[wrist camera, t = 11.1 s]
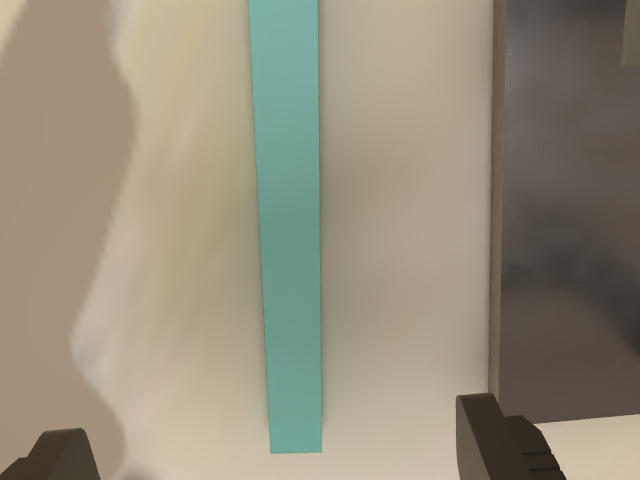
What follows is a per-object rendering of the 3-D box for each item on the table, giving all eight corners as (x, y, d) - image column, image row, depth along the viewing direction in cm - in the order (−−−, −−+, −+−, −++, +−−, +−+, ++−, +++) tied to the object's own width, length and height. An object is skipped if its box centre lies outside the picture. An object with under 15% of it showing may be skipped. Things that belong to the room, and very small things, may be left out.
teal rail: (315, -67, 22) (316, -75, 20) (320, 419, 30) (321, 452, 28) (250, -67, 22) (244, -74, 20) (272, 420, 30) (270, 453, 28)
